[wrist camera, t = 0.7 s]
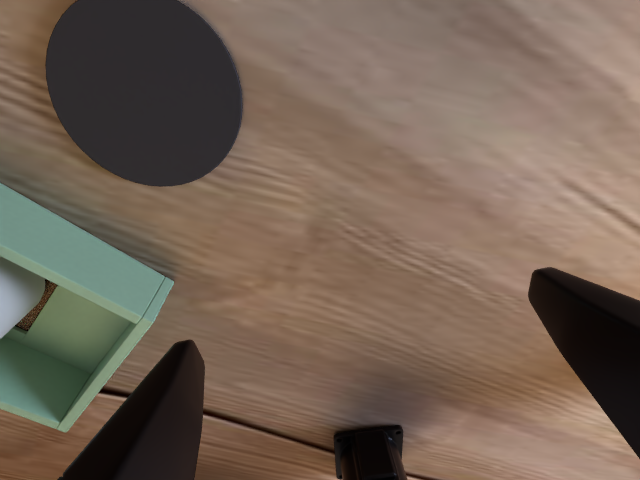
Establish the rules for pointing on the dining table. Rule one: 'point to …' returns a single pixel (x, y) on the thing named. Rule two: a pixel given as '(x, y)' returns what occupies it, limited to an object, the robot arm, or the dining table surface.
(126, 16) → the coaster
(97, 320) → the green open box
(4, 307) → the can
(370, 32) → the dining table surface
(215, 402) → the dining table surface
